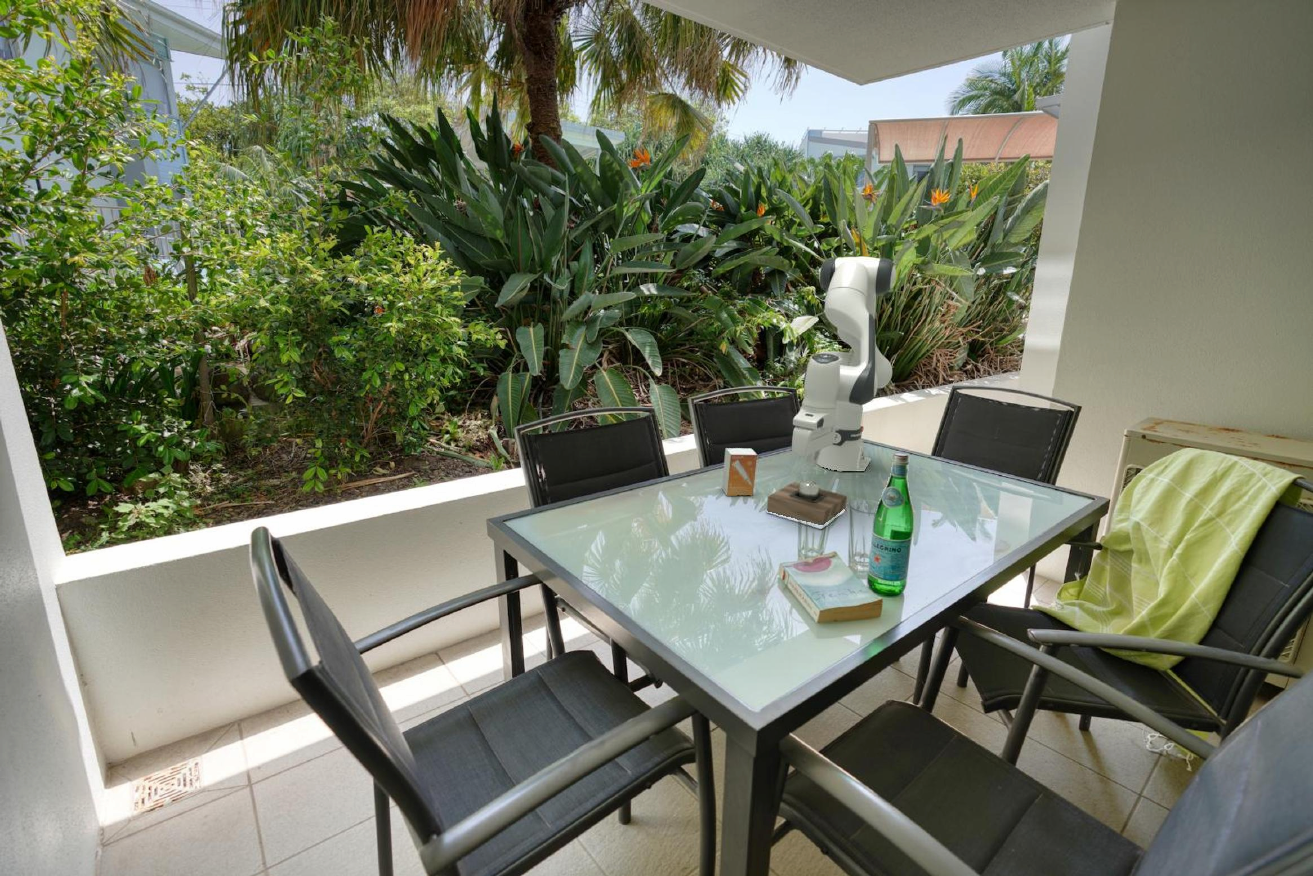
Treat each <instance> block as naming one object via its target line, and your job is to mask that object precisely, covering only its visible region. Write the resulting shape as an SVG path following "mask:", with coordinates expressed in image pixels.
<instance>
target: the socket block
mask: <svg viewBox="0 0 1313 876" xmlns="http://www.w3.org/2000/svg"><path fill="white" fill-rule="evenodd" d="M799 490H800V482H796V481H793V482H791V483H790V484H788V485H785V486H784V487H782V488H780V489H779V490H777V491H775V492H773V493H772V494H770V495H768V497H767V507H766V512H767V511H768V512H772V513H776V514H778V515H783V516H786V517H791V518H795V519H797V520H802V521H806V522H811V523H814V524H818V525H824V524H825V523H826V522H828V521H829V520H831V519H832V518H833V517H835V516H836V515H837V514H838V513H840V512H841V511H842V510H843V509H845V510H846V508H847V501H848V495H845V494H841V493H837V492H834V491H830V490H826V489H822V488H819V490H818V497H817V500H815V501H812V500H808V499H804V498H801V497H799Z"/></svg>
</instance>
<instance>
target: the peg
mask: <svg viewBox="0 0 1313 876" xmlns="http://www.w3.org/2000/svg"><path fill="white" fill-rule="evenodd" d="M799 483H800V490H799V497H801V498H804V499H808V500H812V501H815V500H817V497H818V490H819V489H820V488H819V487H820V484H819V483H817V482H815V481H811V480H802V481H800V482H799Z"/></svg>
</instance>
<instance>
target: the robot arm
mask: <svg viewBox="0 0 1313 876" xmlns="http://www.w3.org/2000/svg"><path fill="white" fill-rule="evenodd" d="M896 278H897V271H896V267H895V263H894V261H893V260H892V259H890V258H885V257H881V258H878V257H872V256H864V255H863V256H846V257H845V256H844V257H843V256H842V257H838V256H835V257H830V258H826V260H824V261H823V262H822V264H821V267H820V269H819V273H818V280H819V281H818V282H819V286H820V288H821V289H822V290H823V291H825V292H826V296H825V301H824V313H825V314H824V315H825V317H826V319H827V320H828V322H830V324H831V325H832V326H834V327H835V328H836V333H837V336H838V337H839V338H840V340H842V342H844V343H845V344H847V345H849V346H850V348H851V349H852V350H853V352H844V351H837V350H836V351H834V350H833V351H821V352H819V353H815V354H814V355H811V357H809V362H808V364H807V369H806V371H805V373H804V378H803V384H802V385H803V386H802V387H803V390H804V396H803V400H802V402H801V408H800V409H799V411H798V413H797V414H796V415H795V416H794V417H793V420H792V425H793V426H795V427H794V428H793V431H792V440H791V451H792V454H793V455H794V456H796V457H799V458H801V457H802V458H805V459H806V466H807V467H808V468H813V467H815V466H817V465H818V466H819V467H821V468H823V467H824V469H826V468H828V469H827V470H830V469H831V470H830V471H834V470H837V471H836V472H842V471H853V470H865V469H866V467H867V466H868V464H869V462H870V461H871V462H872V458H870V457H868V456H866V450H867V445H866V444H865V443H864V441H863V440H862V434H863V431H864V426H863V425H862V418H863V412H864V407H863V406H864V405H866V404H868V403H870V402H871V401H873V400H874V399H875V397H876V395H877V392H878V389H883V388H885V387H886V386H887V385H888V384H889V383H890V381H891V379H892V377H893V368H892V364H891V362H890V361H889V360H888V359H887V358H886V357H885V356H884V355H883V354H882V353H881V351H880V350H879V348H878V345H877V343H876V341H877V340H876V339H877V338H876V322H875V317H876V308H877V297H881V295H885V294H887V293H888V292H890V291H891V290H892V288H893V286H894V284H895V281H896ZM871 462H870V463H871ZM869 465H870V464H869ZM868 467H869V466H868ZM868 467H867V468H868ZM866 470H867V469H866Z"/></svg>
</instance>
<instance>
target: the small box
mask: <svg viewBox="0 0 1313 876" xmlns="http://www.w3.org/2000/svg"><path fill="white" fill-rule="evenodd" d="M757 460H758V454H757V452H755V451H754V450H753V449H752V448H742V447H741V448H740V447H739V448H738V447H735V448H734V447H733V448H730V447H729V448H727V447H726V448H725V450H724V461H723V462H724V463H723V474H722V485H721V489H722V491H723V493H724V494H725V496H726V497H738V496H737V495H753V496H754V488H755V480H756V479H755V478H756V469H757Z"/></svg>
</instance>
